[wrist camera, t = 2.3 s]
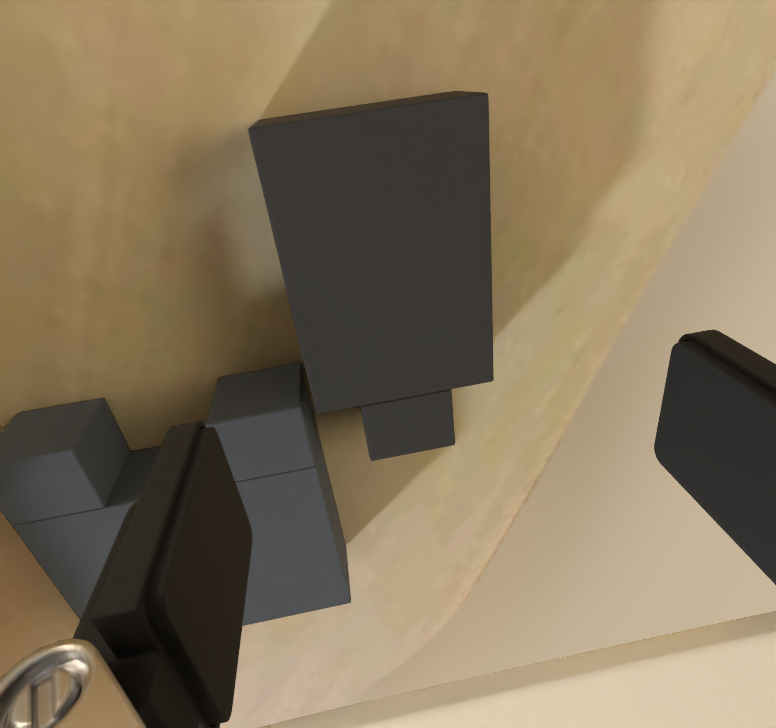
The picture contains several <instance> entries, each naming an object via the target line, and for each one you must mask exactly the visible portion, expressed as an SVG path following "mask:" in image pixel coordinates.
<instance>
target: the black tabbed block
mask: <svg viewBox="0 0 776 728" xmlns="http://www.w3.org/2000/svg"><path fill="white" fill-rule="evenodd" d="M248 132H249V136H250V140H251V144H252V148H253V152H254V156H255V161H256V165H257V169H258V173H259V177H260V181H261V186H262V190H263V194H264V198H265V202H266V206H267V211H268V215H269V219H270V223H271V227H272V231H273V235H274V240H275V244H276V248H277V252H278V256H279V260H280V265H281V269H282V273H283V277H284V281H285V285H286V289H287V294H288V298H289V302H290V306H291V310H292V314H293V319H294V323H295V327H296V331H297V335H298V339H299V343H300V348H301V352H302V356H303V360H304V364H305V368H306V373H307V377H308V381H309V385H310V389H311V393H312V397H313V402H314V406H315V410H316V413H317V414H319V413H325V412H330V411H335V410H341V409H346V408H352V407H357V406H360V407H361V413H362V418H363V424H364V429H365V434H366V440H367V445H368V451H369V456H370V460H371V461H374V460H379V459H384V458H389V457H395V456H400V455H405V454H410V453H415V452H420V451H425V450H431V449H436V448H441V447H446V446H451V445H454V444H455V435H454V421H453V407H452V392H451V389H453V388H459V387H464V386H470V385H475V384H480V383H486V382H491V381H493V325H492V270H491V215H490V160H489V105H488V94H487V93H484V92H463V91H453V92H446V93H439V94H432V95H425V96H419V97H412V98H405V99H398V100H391V101H384V102H377V103H371V104H364V105H357V106H350V107H343V108H336V109H330V110H323V111H316V112H309V113H302V114H295V115H288V116H282V117H275V118H268V119H261V120H259V121H257V122H256V123H255V124H253V125H252V126H251V127H250V128H249V130H248Z"/></svg>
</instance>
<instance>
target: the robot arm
mask: <svg viewBox="0 0 776 728" xmlns="http://www.w3.org/2000/svg"><path fill="white" fill-rule="evenodd" d="M654 449H655V454H656V457H657V459H658V461H659V462H660V464H661V465H662V466H663V467H664V468H665V469H666V470H667V471H668V472H669V473H670V474H671V475H672V476H673V477H674V478H675V479H676V480H677V481H678V483H679V484H680V485H681V486H682V487H683V488H684V489H685V490H686V491H687V492H688V493H689V494H690V495H691V496H692V497H693V498H694V499H695V500H696V501H697V502H698V504H699V505H700V506H701V507H702V508H703V509H704V510H705V511H706V512H707V513H708V514H709V515H710V516H711V517H712V518H713V519H714V520H715V521H716V523H717V524H718V525H720V527H721V528H722V529H723V530H724V531H725V532H726V533H727V534H728V535H729V536H730V537H731V538H732V539H733V540H734V541H735V542H736V544H738V546H739V547H740V548H741V549H742V550H743V551H744V552H745V553H746V554H747V555H748V556H749V557H750V558H751V559H752V560H753V561H754V563H756V565H757V566H758V567H759V568H760V569H761V570H762V571H763V572H764V573H765V574H766V575H767V576H768V577H769V578H770V579H771V580H772V581H773V582H774V583H775V585H776V364H774V363H772V362H771V361H769V360H767V359H766V358H764V357H762V356H761V355H759V354H757V353H755V352H754V351H752V350H750V349H748V348H747V347H745V346H743V345H742V344H740V343H738V342H736V341H735V340H733V339H731V338H730V337H728V336H726V335H724V334H723V333H721V332H719V331H716V330H707V331H702V332H696V333H691V334H685V335H683V336H682V337H681V338H680V339H679V342H678V343H676V344H675V345H674V346H673V348H672V351H671V356H670V362H669V367H668V373H667V379H666V384H665V389H664V395H663V400H662V406H661V412H660V417H659V422H658V428H657V433H656V439H655V444H654ZM252 540H253V539H252V529H251V524H250V521H249V519H248V516H247V513H246V510H245V508H244V505H243V502H242V499H241V496H240V494H239V491H238V488H237V485H236V483H235V480H234V477H233V474H232V472H231V469H230V466H229V463H228V461H227V458H226V455H225V452H224V449H223V447H222V444H221V441H220V438H219V436H218V433H217V431H216V429H215V428H214V427H208V428H206V426H205V424H204V423H203V422H201V421H199V422H193V423H188V424H182V425H177V426H172V427H170V428H169V430H168V432H167V434H166V437H165V439H164V442H163V444H162V447H161V449H160V451H159V454H158V456H157V459H156V461H155V463H154V466H153V468H152V471H151V473H150V476H149V478H148V480H147V483H146V485H145V488H144V490H143V493H142V495H141V497H140V500H139V502H136V503H134V504H133V505H131V506H130V508H129V510H128V511H127V513H126V516H125V518H124V520H123V523H122V525H121V527H120V529H119V532H118V534H117V536H116V539H115V541H114V543H113V546H112V548H111V550H110V553H109V555H108V557H107V560H106V562H105V564H104V567H103V569H102V571H101V574H100V576H99V578H98V581H97V583H96V585H95V588H94V590H93V592H92V595H91V597H90V599H89V601H88V604H87V606H86V608H85V611H84V613H83V615H82V618H81V620H80V622H79V625H78V627H77V629H76V632H75V634H74V636H73V639H68V640H60V641H57V642H55V643H52V644H49V645H47V646H44V647H42V648H40V649H38V650H37V651H35V652H33V653H32V654H30V655H28V656H27V657H25V658H23V659H22V660H21V661H20V662H18V663H17V664H16V665H15V666H14V667H13V668H11V669H10V670H9V671H8V672H7V673H5V674H4V675H3V677H2V678H1V679H0V728H219V727H220V723H223V722H228V720H229V719H230V716H231V712H232V705H233V697H234V689H235V680H236V672H237V664H238V656H239V648H240V640H241V632H242V624H243V615H244V607H245V599H246V591H247V583H248V575H249V567H250V558H251V550H252ZM259 728H776V611H774V612H769V613H764V614H760V615H755V616H750V617H745V618H741V619H736V620H731V621H727V622H722V623H718V624H713V625H708V626H704V627H699V628H695V629H690V630H685V631H681V632H676V633H672V634H667V635H663V636H658V637H653V638H649V639H644V640H640V641H635V642H631V643H626V644H621V645H617V646H612V647H608V648H603V649H599V650H594V651H590V652H585V653H581V654H576V655H572V656H567V657H562V658H558V659H554V660H549V661H544V662H540V663H535V664H531V665H526V666H522V667H518V668H513V669H508V670H504V671H499V672H495V673H491V674H486V675H482V676H477V677H473V678H469V679H464V680H460V681H456V682H451V683H446V684H442V685H438V686H433V687H428V688H425V689H420V690H415V691H411V692H406V693H402V694H397V695H393V696H388V697H384V698H380V699H375V700H371V701H367V702H362V703H358V704H354V705H350V706H345V707H341V708H337V709H333V710H329V711H325V712H321V713H317V714H313V715H309V716H304V717H300V718H296V719H292V720H288V721H284V722H280V723H276V724H272V725H268V726H264V727H259Z"/></svg>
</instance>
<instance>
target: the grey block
mask: <svg viewBox="0 0 776 728" xmlns="http://www.w3.org/2000/svg"><path fill="white" fill-rule="evenodd" d="M205 426H206V428H208V427H214V428H215V429H216V431H217V433H218V436H219V438H220V441H221V444H222V447H223V449H224V452H225V455H226V458H227V461H228V463H229V466H230V469H231V472H232V474H233V477H234V480H235V483H236V485H237V488H238V491H239V494H240V496H241V499H242V502H243V505H244V508H245V510H246V513H247V516H248V519H249V521H250V524H251V529H252V539H253V540H252V550H251V558H250V567H249V575H248V583H247V591H246V599H245V607H244V615H243V624H242V626H244V625H248V624H253V623H258V622H263V621H267V620H272V619H277V618H281V617H286V616H291V615H296V614H300V613H305V612H310V611H314V610H319V609H324V608H328V607H333V606H338V605H343V604H347V603H351V595H350V584H349V573H348V562H347V551H346V545H345V540H344V536H343V532H342V528H341V524H340V520H339V516H338V512H337V508H336V504H335V499H334V495H333V491H332V487H331V483H330V479H329V475H328V471H327V467H326V463H325V459H324V454H323V450H322V446H321V442H320V438H319V434H318V430H317V426H316V422H315V419H314V414H313V410H312V406H311V401H310V397H309V393H308V389H307V385H306V381H305V377H304V373H303V369H302V365H301V363H297V364H291V365H286V366H280V367H274V368H269V369H263V370H258V371H252V372H247V373H241V374H235V375H230V376H224V377H220V378H219V379H218V382H217V386H216V389H215V393H214V396H213V399H212V403H211V406H210V410H209V413H208V417H207V420H206V424H205ZM161 447H162V446H161ZM161 447H155V448H150V449H145V450H139V451H134V452H130V449H129V447H128V445H127V443H126V441H125V439H124V437H123V435H122V433H121V431H120V429H119V427H118V425H117V423H116V421H115V419H114V417H113V415H112V413H111V410H110V408H109V406H108V404H107V402H106V400H105V399H104V398H100V399H95V400H89V401H83V402H78V403H72V404H67V405H61V406H56V407H50V408H44V409H39V410H33V411H28V412H22V413H18V414H17V415H16V416H15V417H14V418H13V419H12V420H11V422H10V423H9V424H8V425H7V426H6V427H5V429H4V430H3V431H2V432H1V433H0V510H1V511H2V513H3V514H4V516H5V517H6V518H7V520H8V521H9V522H10V524H11V525H13V528H14V529H15V531H16V532H17V533H18V535H19V536H20V538H21V539H22V540H23V542H24V543H25V545H26V546H27V547H28V549H29V550H30V551H31V553H32V554H33V556H34V557H35V558H36V560H37V561H38V562H39V564H40V565H41V567H42V568H43V569H44V571H45V572H46V574H47V575H48V576H49V578H50V579H51V580H52V582H53V583H54V585H55V586H56V587H57V589H58V590H59V592H60V593H61V594H62V596H63V597H64V598H65V600H66V601H67V603H68V604H69V605H70V607H71V608H72V609H73V611H74V612H75V614H76V615H77V616H78V618H79V619H80V620H81V618H82V615H83V613H84V611H85V608H86V606H87V604H88V601H89V599H90V597H91V595H92V592H93V590H94V588H95V585H96V583H97V581H98V578H99V576H100V574H101V571H102V569H103V567H104V564H105V562H106V560H107V557H108V555H109V553H110V550H111V548H112V546H113V543H114V541H115V539H116V536H117V534H118V532H119V529H120V527H121V525H122V523H123V520H124V518H125V516H126V513H127V511H128V510H129V508H130V506H131V505H133V504H134V503H136V502H139V500H140V497H141V495H142V493H143V490H144V488H145V485H146V483H147V480H148V478H149V476H150V473H151V471H152V468H153V466H154V463H155V461H156V459H157V456H158V454H159V451H160V449H161Z"/></svg>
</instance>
